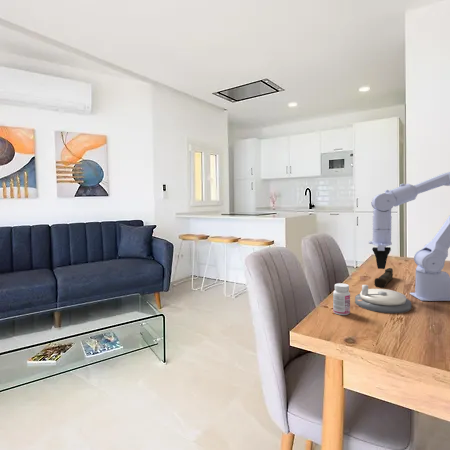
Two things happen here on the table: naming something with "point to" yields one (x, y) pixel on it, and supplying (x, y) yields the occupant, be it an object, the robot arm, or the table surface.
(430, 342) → the table surface
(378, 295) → the dial
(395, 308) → the dial base
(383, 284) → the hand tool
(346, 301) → the pill bottle
